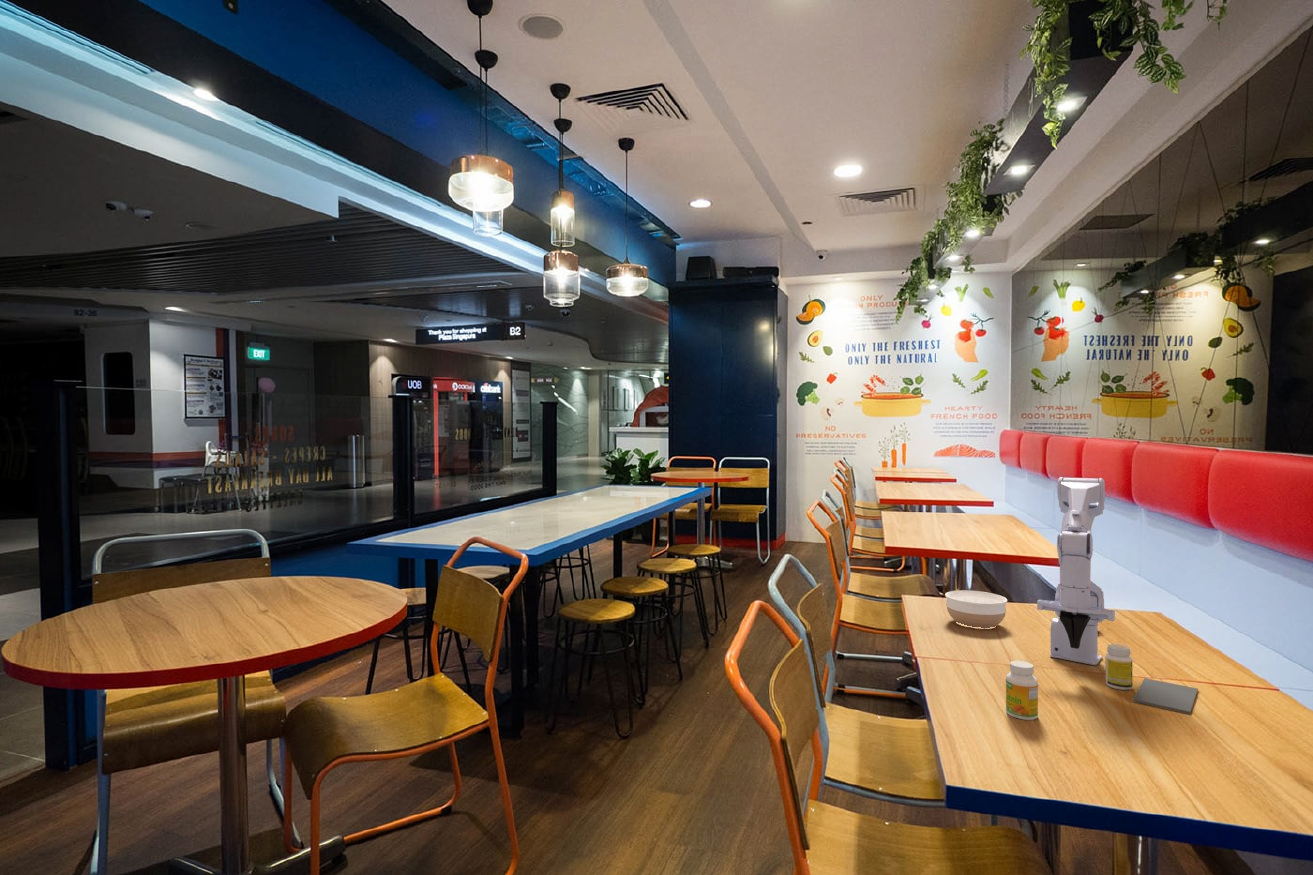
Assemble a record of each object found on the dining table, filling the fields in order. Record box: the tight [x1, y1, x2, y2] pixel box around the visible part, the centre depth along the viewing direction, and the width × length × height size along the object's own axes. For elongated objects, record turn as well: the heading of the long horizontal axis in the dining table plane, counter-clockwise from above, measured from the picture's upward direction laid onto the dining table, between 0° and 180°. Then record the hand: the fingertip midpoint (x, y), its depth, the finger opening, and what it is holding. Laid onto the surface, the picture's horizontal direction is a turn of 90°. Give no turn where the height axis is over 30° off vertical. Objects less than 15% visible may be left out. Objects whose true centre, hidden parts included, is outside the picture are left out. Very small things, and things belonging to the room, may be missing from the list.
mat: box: [1132, 677, 1199, 715], centre depth 135 cm, size 9×16×1 cm, turn 137°
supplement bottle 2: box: [1104, 643, 1134, 691], centre depth 141 cm, size 5×5×8 cm
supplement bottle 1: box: [1005, 660, 1039, 721], centre depth 126 cm, size 5×5×10 cm
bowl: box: [944, 589, 1008, 628], centre depth 188 cm, size 16×16×8 cm
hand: (1075, 647), depth 146 cm, fingers closed
